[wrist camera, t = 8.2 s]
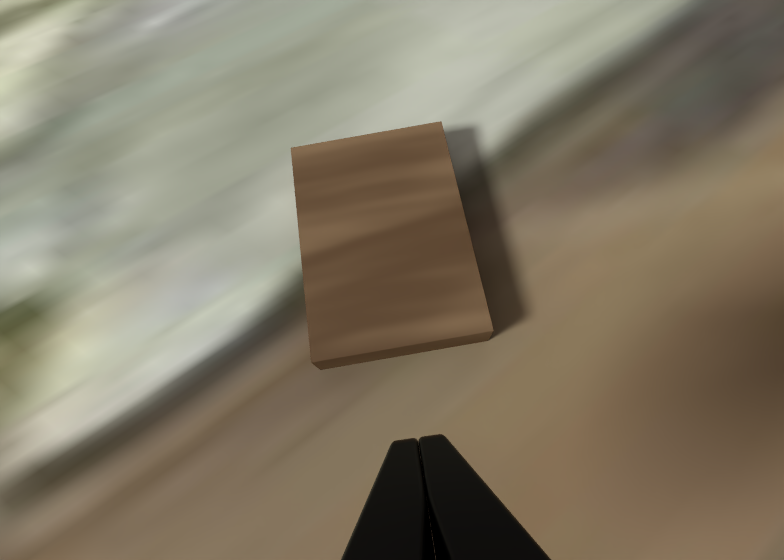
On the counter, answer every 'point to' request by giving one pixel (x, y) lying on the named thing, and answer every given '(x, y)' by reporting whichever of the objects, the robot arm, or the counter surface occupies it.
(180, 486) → the counter surface
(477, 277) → the walnut tile
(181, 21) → the counter surface
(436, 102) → the counter surface
